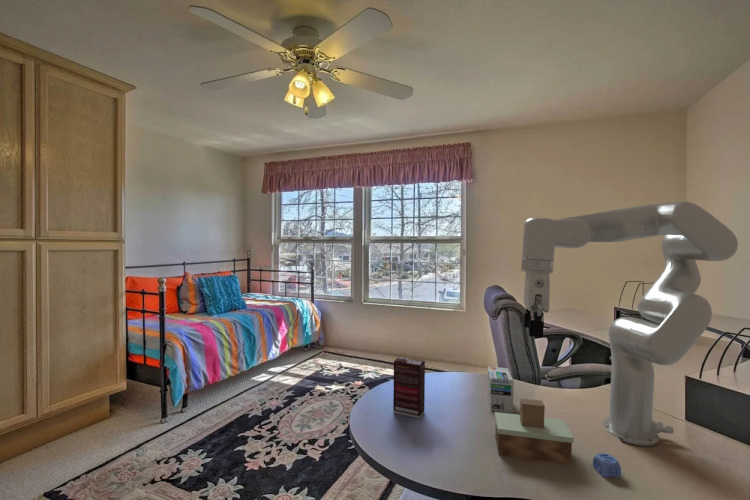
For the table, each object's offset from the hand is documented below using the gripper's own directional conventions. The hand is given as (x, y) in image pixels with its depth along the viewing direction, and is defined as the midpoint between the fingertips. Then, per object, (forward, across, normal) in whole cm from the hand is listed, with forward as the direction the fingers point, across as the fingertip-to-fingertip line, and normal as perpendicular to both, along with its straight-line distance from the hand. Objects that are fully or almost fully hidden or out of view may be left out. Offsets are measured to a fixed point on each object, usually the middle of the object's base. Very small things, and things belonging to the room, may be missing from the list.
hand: (532, 331), depth 96 cm
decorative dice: (+28, -10, -16) cm, 34 cm away
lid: (+23, -6, 0) cm, 23 cm away
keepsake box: (+29, -6, 0) cm, 29 cm away
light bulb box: (+29, +18, +6) cm, 34 cm away
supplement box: (+30, +6, +32) cm, 44 cm away
